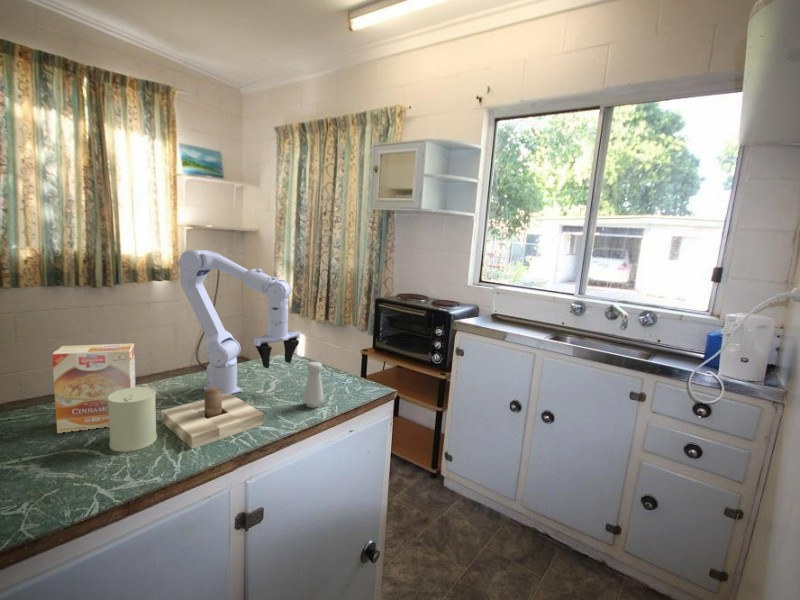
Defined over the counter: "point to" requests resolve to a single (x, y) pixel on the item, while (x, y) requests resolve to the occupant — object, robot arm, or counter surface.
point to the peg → (213, 402)
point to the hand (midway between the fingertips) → (277, 364)
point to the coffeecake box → (89, 383)
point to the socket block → (211, 420)
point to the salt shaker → (314, 386)
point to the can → (132, 419)
